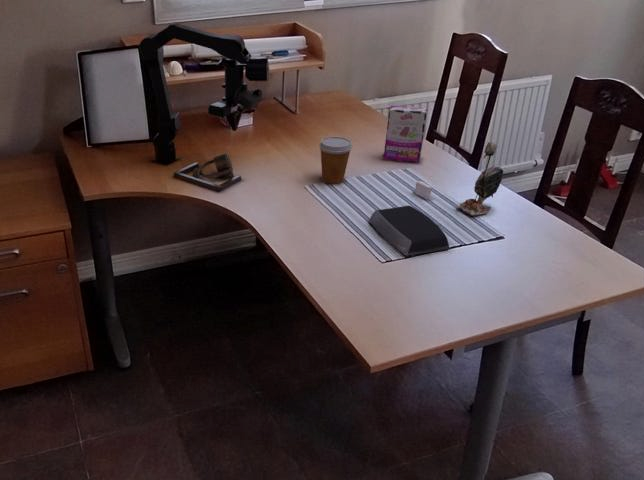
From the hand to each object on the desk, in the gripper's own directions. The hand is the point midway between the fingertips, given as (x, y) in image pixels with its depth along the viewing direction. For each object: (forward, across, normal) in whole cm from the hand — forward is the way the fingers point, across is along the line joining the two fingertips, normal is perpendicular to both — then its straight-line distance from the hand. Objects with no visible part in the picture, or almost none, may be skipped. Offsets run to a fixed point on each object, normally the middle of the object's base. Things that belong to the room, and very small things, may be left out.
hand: (234, 130), depth 198 cm
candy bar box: (+11, +35, -40) cm, 55 cm away
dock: (+11, -14, -1) cm, 18 cm away
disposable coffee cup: (+11, +8, -32) cm, 34 cm away
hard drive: (+11, -11, -65) cm, 67 cm away
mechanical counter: (+11, -12, -1) cm, 16 cm away
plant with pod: (+11, +14, -73) cm, 75 cm away
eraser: (+11, +13, -58) cm, 60 cm away
